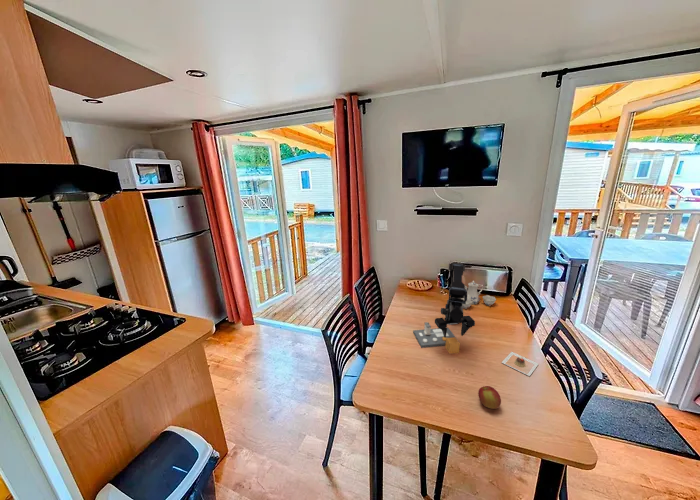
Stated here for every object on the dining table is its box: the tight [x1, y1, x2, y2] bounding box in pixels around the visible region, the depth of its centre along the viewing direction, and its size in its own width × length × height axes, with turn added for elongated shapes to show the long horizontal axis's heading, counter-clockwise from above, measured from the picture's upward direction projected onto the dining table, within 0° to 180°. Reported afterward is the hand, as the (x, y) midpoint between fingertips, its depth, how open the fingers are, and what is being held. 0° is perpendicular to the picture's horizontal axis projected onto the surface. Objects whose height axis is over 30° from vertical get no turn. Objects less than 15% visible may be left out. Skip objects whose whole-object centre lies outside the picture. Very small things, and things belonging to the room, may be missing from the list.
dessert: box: [501, 351, 539, 377], centre depth 128 cm, size 12×12×5 cm
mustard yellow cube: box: [444, 336, 461, 355], centre depth 138 cm, size 5×5×6 cm
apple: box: [477, 385, 502, 410], centre depth 106 cm, size 8×8×8 cm
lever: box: [423, 321, 432, 335], centre depth 150 cm, size 3×4×6 cm
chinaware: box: [461, 280, 497, 310], centre depth 183 cm, size 28×17×17 cm, turn 105°
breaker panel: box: [412, 326, 461, 349], centre depth 149 cm, size 21×14×2 cm, turn 95°
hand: (453, 336), depth 137 cm, fingers open, 9 cm apart
